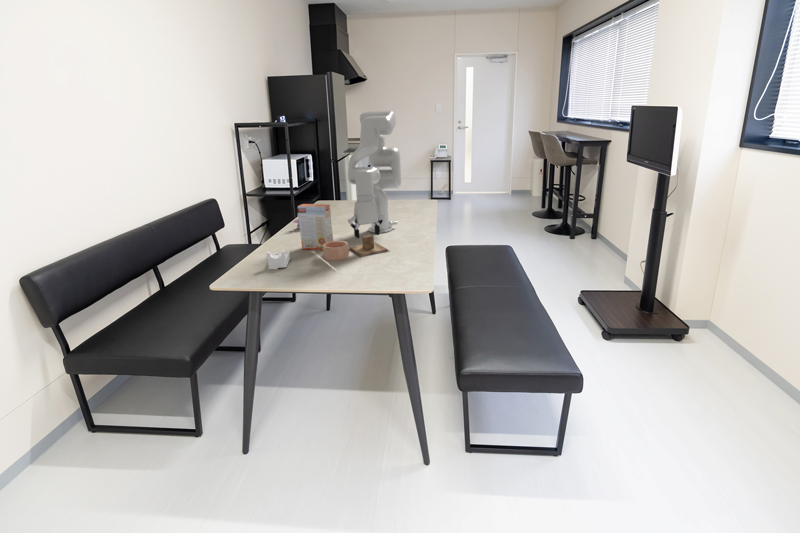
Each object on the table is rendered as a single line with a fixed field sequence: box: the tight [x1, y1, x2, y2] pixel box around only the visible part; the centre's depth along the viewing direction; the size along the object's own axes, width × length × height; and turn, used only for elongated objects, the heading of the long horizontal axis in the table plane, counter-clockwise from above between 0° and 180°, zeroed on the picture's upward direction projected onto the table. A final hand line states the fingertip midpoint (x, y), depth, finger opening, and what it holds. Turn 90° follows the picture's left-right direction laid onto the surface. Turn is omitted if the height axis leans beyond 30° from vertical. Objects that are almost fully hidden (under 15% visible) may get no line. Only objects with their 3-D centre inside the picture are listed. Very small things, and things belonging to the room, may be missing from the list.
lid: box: [349, 234, 389, 257], centre depth 212 cm, size 13×13×6 cm
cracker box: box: [297, 203, 334, 251], centre depth 217 cm, size 14×6×21 cm, turn 71°
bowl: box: [322, 240, 350, 261], centre depth 205 cm, size 11×11×6 cm
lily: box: [292, 214, 300, 229], centre depth 256 cm, size 12×12×10 cm
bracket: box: [266, 249, 291, 270], centre depth 199 cm, size 13×7×8 cm, turn 5°
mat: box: [349, 248, 391, 258], centre depth 213 cm, size 15×15×1 cm
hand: (367, 236), depth 210 cm, fingers open, 9 cm apart
